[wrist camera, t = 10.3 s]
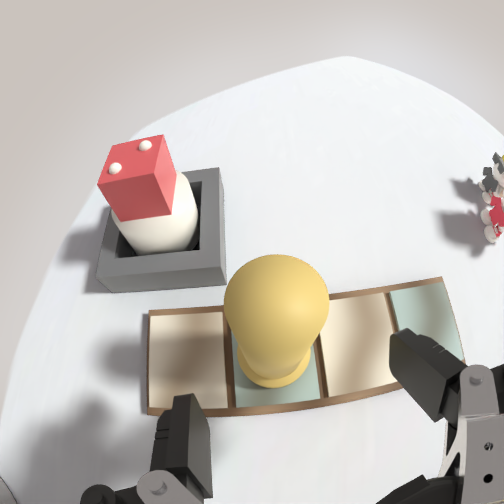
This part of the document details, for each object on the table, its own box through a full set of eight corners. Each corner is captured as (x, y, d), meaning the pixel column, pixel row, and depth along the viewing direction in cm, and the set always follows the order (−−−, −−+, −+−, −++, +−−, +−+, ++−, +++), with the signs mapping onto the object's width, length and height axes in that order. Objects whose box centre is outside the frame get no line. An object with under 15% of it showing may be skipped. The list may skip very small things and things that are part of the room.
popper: (128, 267, 22) (73, 197, 15) (138, 208, 26) (101, 135, 18) (201, 260, 22) (168, 178, 15) (202, 199, 26) (180, 117, 18)
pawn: (241, 391, 17) (211, 373, 8) (236, 325, 19) (208, 249, 11) (312, 383, 17) (354, 356, 8) (303, 318, 19) (328, 237, 11)
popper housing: (112, 293, 22) (95, 277, 20) (128, 203, 28) (118, 183, 25) (226, 284, 22) (220, 266, 20) (223, 189, 27) (219, 167, 25)
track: (151, 414, 17) (145, 415, 16) (152, 313, 21) (147, 308, 20) (460, 367, 17) (468, 365, 16) (437, 280, 21) (443, 274, 20)
